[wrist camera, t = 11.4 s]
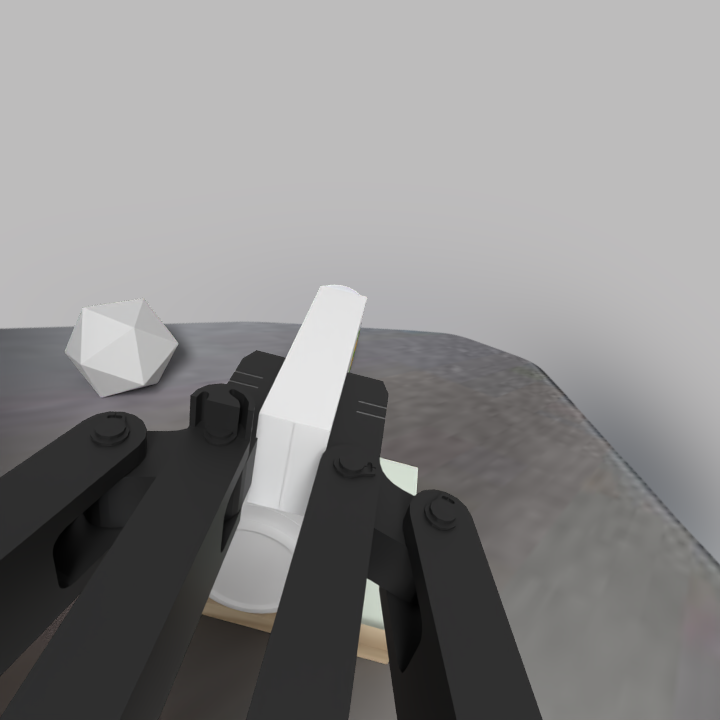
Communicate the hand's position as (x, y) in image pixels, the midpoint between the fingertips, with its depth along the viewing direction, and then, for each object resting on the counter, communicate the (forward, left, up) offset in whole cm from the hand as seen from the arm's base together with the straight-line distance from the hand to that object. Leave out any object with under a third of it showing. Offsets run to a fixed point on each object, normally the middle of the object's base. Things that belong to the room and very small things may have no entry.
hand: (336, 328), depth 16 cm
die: (-28, -7, -24) cm, 38 cm away
